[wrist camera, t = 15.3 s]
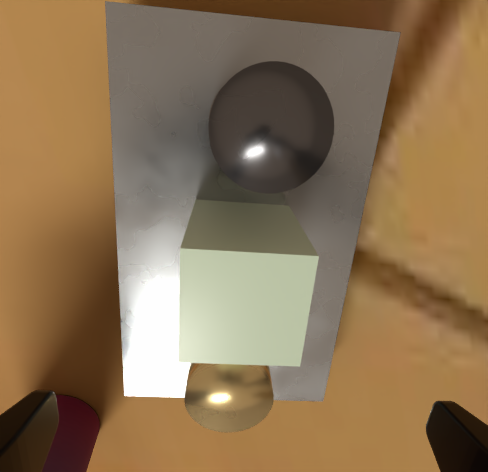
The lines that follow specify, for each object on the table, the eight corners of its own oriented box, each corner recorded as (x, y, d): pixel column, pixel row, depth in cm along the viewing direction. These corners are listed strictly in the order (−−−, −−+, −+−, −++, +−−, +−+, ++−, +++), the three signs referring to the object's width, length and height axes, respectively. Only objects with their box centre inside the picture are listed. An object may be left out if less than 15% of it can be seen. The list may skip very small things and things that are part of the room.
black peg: (282, 67, 15) (326, 47, 9) (295, 152, 16) (340, 179, 11) (199, 86, 15) (194, 77, 9) (219, 169, 16) (224, 205, 11)
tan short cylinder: (270, 327, 20) (278, 365, 17) (263, 389, 21) (268, 432, 18) (191, 324, 19) (185, 362, 17) (189, 387, 21) (183, 431, 18)
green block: (278, 287, 19) (300, 366, 13) (192, 282, 18) (177, 362, 13) (288, 205, 17) (318, 256, 12) (195, 199, 17) (180, 248, 11)
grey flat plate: (377, 41, 17) (400, 32, 15) (314, 373, 24) (323, 401, 22) (122, 15, 16) (105, 1, 14) (134, 367, 23) (124, 395, 21)
